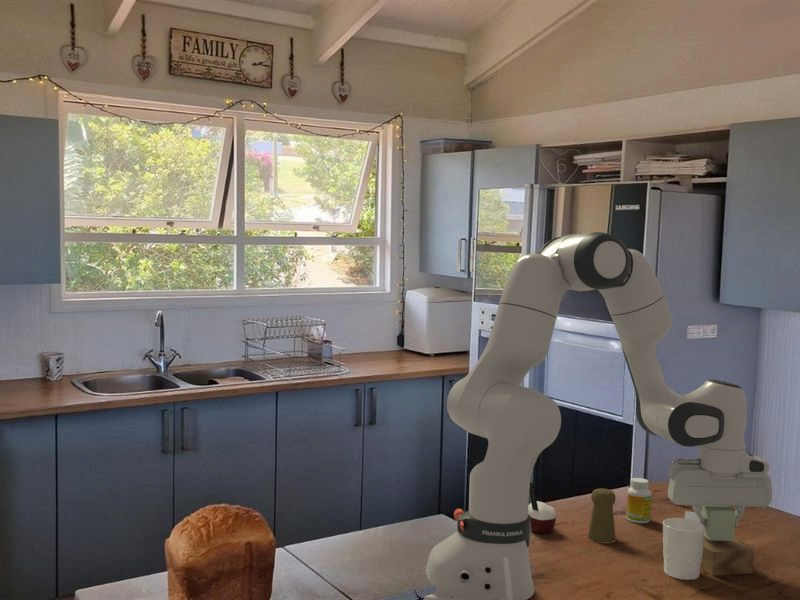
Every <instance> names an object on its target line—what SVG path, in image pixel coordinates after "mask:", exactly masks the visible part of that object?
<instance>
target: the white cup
mask: <svg viewBox="0 0 800 600" xmlns="http://www.w3.org/2000/svg"><path fill="white" fill-rule="evenodd" d="M704 533H705V526H704V525H703V524H701V523H699V522H697V521H694V520H690V519H684V518H683V517H672V518H666V519H664V520H662V546H663V547H662V554H663V572H664V573H665V575H667V576H670V577H671V578H673V579H677V580H683V581H691V580H697V579H698V578H699V577H700V573H701V568H700V564H701V559H702V553H703V543H704Z"/></svg>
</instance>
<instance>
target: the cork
mask: <svg viewBox="0 0 800 600" xmlns="http://www.w3.org/2000/svg"><path fill="white" fill-rule="evenodd" d="M590 496H591V498H590V499H591V502H592V503H593V506H592V510H591V511H592V513H591V517H590V522H589V530H588V533H587V534H588V535H587V538H588V539H589V540H590V539H591V540H593V541H592V542H594V541H597V542H596V543H598V542H612V541H614V540H615V539H616V537H617V536H616V529H615V528H616V527H615V518H614V508H613V507H614V504H615V502H616V494H615V492H614V491H613V490H612V489H608V488H596V489H594V490H592V493H591V495H590ZM591 540H590V541H591ZM616 540H617V539H616Z"/></svg>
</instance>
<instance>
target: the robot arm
mask: <svg viewBox="0 0 800 600" xmlns="http://www.w3.org/2000/svg"><path fill="white" fill-rule="evenodd" d="M568 290H569V291H576V292H588V291H594V290H597V291H598V292H599V293H600V294H601V295H602V297H603V299H604V301H605V304H606V308H607V310H608V312H609V315H610V318H611V320H612V322H613V325H614V328H615V331H616V333H617V335H618V337H619V341H620V345H621V349H622V353H623V355H624V359H625V363H626V366H627V369H628V372H629V376H630V378H631V382H632V385H633V388H634V392H635V415H636V419H637V422H638V424H639V426H640V427H641V428H642V429H643V430H644V431H645V432H647V433H648V434H650V435H652V436H657V437H659V438H662V439H664V440H666V441H669V442H671V443H673V444H676V445H679V446H682V447H688V448H690V447H698V451H697V453H698V454H697V458H676V460H674V461H672V463H670V465H669V471H668V472H669V473H668V474H669V482H668V483H669V484H668V488H667V490H668V491H667V497H668V499H669V500H670V502H671V503H673V504H674V505H676V506H687V505H692V507H691V508H692V510H693V512H695V513H696V515H697V522H699V523H701V524H703V525H704V526H705V527H707V518H706V517H705V516H702V514H701V510H703V506H729V507H733V509H735V510H734V511H735V512H736V513H735V528H739V520H740V519H741V518H742V516H743V515H744V513H745V511H746V508H748V507H753V508H768V507H769V506H770V504H771V503H772V500H773V489H772V488H773V486H772V479H771V476H770V475H769V474H768V473H769V471H770V464H769V463H768V462H767V461H766V460H764V459H763V458H762V457H759V456H757V455H754V454H751V453H749V452H746V442H745V438H744V436H745V435H744V434H745V433H746V432H745V431H746V429H747V420H748V415H747V413H748V411H747V409H748V407H747V405H748V404H747V397H746V392H745V390H744V389H743V388H742V387H741V386H740V385H738V384H735V383H732V382H727V381H723V380H721V379H720V380H719V379H706V380H705V382H704V383H703V384H701V386H699V387H698V388H697V389H694V390H693V391H691V392H689V393H686V394H679V393H677V392H675V391H674V390H672V388H670V386H669V385H668V384H667V383H666V381H665V378H664V375H663V372H662V369H661V366H660V361H659V358H658V355H657V350H656V349H657V348H656V347H657V344H658V343H660V342H661V341H663V339H665V338H666V336H667V335H668V334H669V331H670V330H671V327H672V323H673V319H672V313H671V310H670V305H669V304H668V300H667V298H666V295H665V292H664V291H663V288H662V286H661V284H660V282H659V279H658V277H657V276H656V273H655V272H654V270H653V268H652V266H651V265H650V263H649V261H648V259H647V258H646V257H645V255H644V254H643V253H642V252H640V251H639V250H636V249H633V248H627V246H626V245H625V243H624V242H623V241H622V240H621V239H620V238H619V237H617V236H616V235H613V234H612V233H608V232H601V231H596V232H595V231H594V232H590V233H583V232H582V233H581V232H577V233H572V234H567V235H564V236H559V237H554V238H552V239H550V240H549V241H548V242H546V243H545V244H544V245H543V246H542V247H541V248H540V249H539V250H538V251H537V253H528V254H527V253H526V254H523V255H522V256H520V257H519V258H517V260H516V261H515V263H514V264H513V266H512V268H511V270H510V271H509V274H508V277H507V279H506V281H505V284H504V287H503V290H502V292H501V295H500V299H499V302H498V306H497V310H496V314H495V318H494V321H493V325H492V328H491V331H490V334H489V338H488V341H487V343H486V345H485V348H484V350H483V352H482V354H481V355H480V356H479V358H478V360H477V361H476V363H475V364H474V365H473V367H472V369H471V370H470V371H469V373H468V374H467V375H465V377H463V378H461V379H460V380H458V381H457V382H456V383H454V384H453V386H452V387H451V388H450V390H449V393H448V395H447V399H446V409H447V413H448V416H449V418H450V419H451V420H452V422H454V424H455V425H457V426H458V427H460V428H462V429H463V430H464V431H466V432H467V433H470V434H472V435H475V436H479V437H481V438H484V439H487V442H488V445H487V450H486V454H485V456H484V459H483V460H482V461H481V462H480V463H477V464H475V466H474V467H473V468H472V469H471V471H470V474H469V491H468V493H469V494H468V510H467V511H464V510H463V509H462V508H456V509H455V510H454V512H453V516H454V520H455V521H456V522H457V524H456V525H457V526H456V527H457V528H456V529H457V530H456V531H455V532H454V533H452V534H451V535H450V536H448V537H447V538H445V539H443V540H442V541H440V542H439V543H437V544H436V545H434V546H433V548H432V549H431V551H430V552H429V555H428V559H427V561H426V562H427V563H426V567H425V568H426V575H427V578H428V580H429V581H430V582H431V583H432V584H433V585H435V586H436V592H435V593H433V594H430V595H427V596H425V597H424V599H423V600H528V599H530V598H532V596H533V595H534V594H535V585H534V582H533V578H532V573H531V564H530V558H529V547H530V543H531V542H530V541H531V535H532V534H531V533H532V532H531V530H532V529H531V522H530V517H529V514H528V505H529V504H530V503H529V502H530V501H529V500H530V494H529V488H530V482H531V477H532V473H533V469H534V467H535V464H536V462H537V459H538V457H539V456H540V455H541V453H542V452H543V451H544V450H545V449H547V448H548V447H550V445H552V444H553V443H554V441H555V440H556V438H557V437H558V435H559V432H560V431H561V425H562V415H561V411H560V408H559V406H558V404H557V403H556V402H555V400H553V398H551V397H549V396H547V395H545V394H544V393H542V392H540V391H538V390H536V389H534V388H531V387H525V386H523V385H521V384H522V383H523V380H524V379H525V377H526V376H527V375H528V373H529V372H530V371H531V370H532V369H533V368H535V367H536V366H538V365H540V364H541V363H543V362H544V361H545V359H547V358H546V357H547V356H548V354H549V353H548V352H549V349H550V345H551V341H552V338H553V334H554V330H555V326H556V322H557V319H558V314H559V309H560V304H561V301H562V299H563V298H564V296H565V294H566V293H567V291H568Z"/></svg>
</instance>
